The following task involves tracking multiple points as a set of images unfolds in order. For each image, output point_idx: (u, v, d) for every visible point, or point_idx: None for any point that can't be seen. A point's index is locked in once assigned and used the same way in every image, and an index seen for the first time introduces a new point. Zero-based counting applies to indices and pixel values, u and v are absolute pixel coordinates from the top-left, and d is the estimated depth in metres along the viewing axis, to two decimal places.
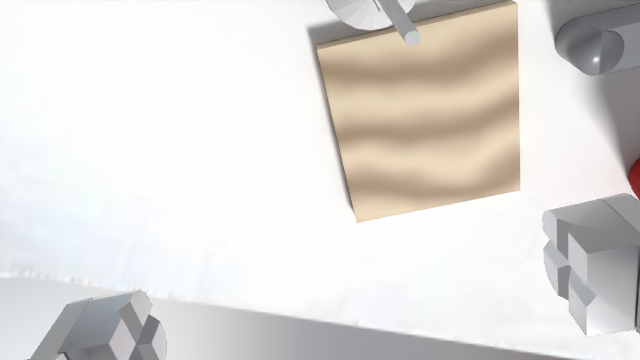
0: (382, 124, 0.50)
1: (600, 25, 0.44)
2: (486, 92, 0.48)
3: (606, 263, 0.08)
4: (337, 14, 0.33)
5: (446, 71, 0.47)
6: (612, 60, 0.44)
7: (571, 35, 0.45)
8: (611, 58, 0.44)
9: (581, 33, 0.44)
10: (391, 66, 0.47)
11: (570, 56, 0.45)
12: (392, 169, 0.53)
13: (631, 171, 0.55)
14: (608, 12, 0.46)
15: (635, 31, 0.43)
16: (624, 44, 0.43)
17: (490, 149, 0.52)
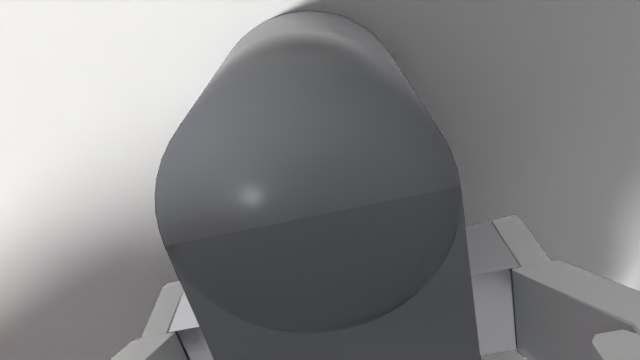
0: None
1: None
2: None
3: (480, 286, 0.08)
4: None
5: None
6: (264, 292, 0.07)
7: (367, 45, 0.08)
8: (277, 284, 0.07)
9: (404, 82, 0.07)
10: None
11: (255, 52, 0.07)
12: None
13: None
14: None
15: (433, 351, 0.08)
16: (361, 324, 0.07)
17: None
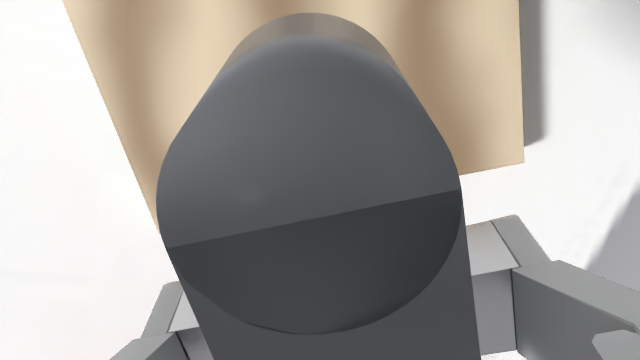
0: None
1: None
2: None
3: (480, 286, 0.08)
4: None
5: (418, 57, 0.24)
6: (265, 294, 0.07)
7: (368, 48, 0.08)
8: (278, 286, 0.07)
9: (405, 84, 0.07)
10: None
11: (256, 55, 0.07)
12: None
13: None
14: None
15: (433, 353, 0.08)
16: (361, 326, 0.07)
17: None
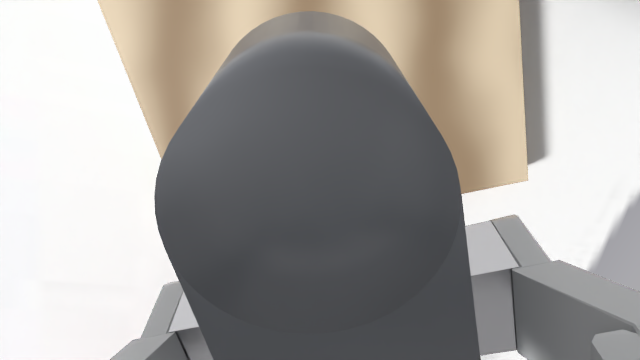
0: None
1: None
2: None
3: (480, 286, 0.08)
4: None
5: (431, 89, 0.27)
6: (264, 293, 0.07)
7: (367, 46, 0.08)
8: (277, 285, 0.07)
9: (404, 82, 0.07)
10: None
11: (255, 54, 0.07)
12: (222, 6, 0.25)
13: None
14: None
15: (433, 352, 0.08)
16: (361, 325, 0.07)
17: None
